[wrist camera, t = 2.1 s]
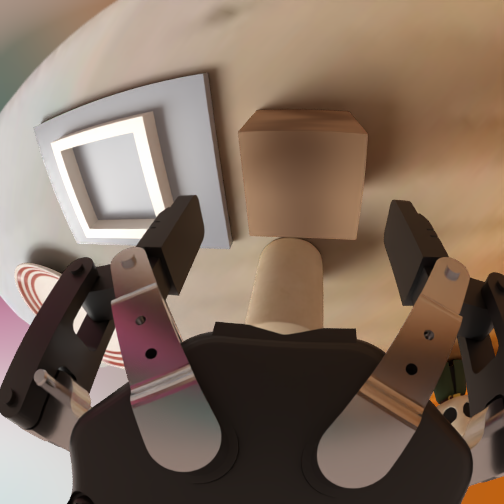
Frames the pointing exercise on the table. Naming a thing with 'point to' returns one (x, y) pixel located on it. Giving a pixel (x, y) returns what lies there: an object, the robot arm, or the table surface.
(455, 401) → the character mug
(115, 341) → the dinner plate
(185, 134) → the baseplate
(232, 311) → the table surface
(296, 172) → the walnut block
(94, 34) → the table surface
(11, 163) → the table surface
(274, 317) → the candle
